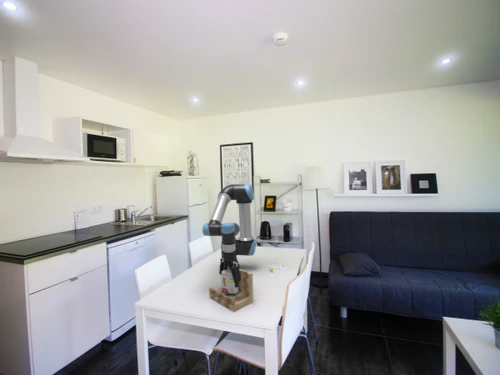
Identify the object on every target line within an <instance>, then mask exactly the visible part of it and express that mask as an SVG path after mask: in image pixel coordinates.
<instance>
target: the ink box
mask: <svg viewBox="0 0 500 375" xmlns="http://www.w3.org/2000/svg"><path fill="white" fill-rule="evenodd" d="M221 272H222V273H221V274H220V276H221V275H222V276H221V288H222V293H232V294H234V293H233V281H234V279H233V276H232V273H231V270H229V269H226V270H223V271H221ZM235 294H236V293H235Z"/></svg>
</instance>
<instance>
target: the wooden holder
mask: <svg viewBox="0 0 500 375" xmlns="http://www.w3.org/2000/svg"><path fill="white" fill-rule="evenodd" d="M232 268H233V267H232ZM228 269H229V268H228ZM229 270H230V269H229ZM239 272H240V277H241V281H238V292H237V293H236V294H232V293H222V287H220V288H217V289H214V288H212V287H210V288H208V291H209V293H208V294H209V298H210V299H211V300H213V301H215V302H216V303H218V304H220V305H222V306H223V307H225V308H226V309H228V310H230V311H231V312H236V311H237V310H240V309H242V308H244V307H246V306H248V305H250V304H252V303H253V302H254V284H253V283H254V282H253V281H254V280H253V278H254V276H253V273H252V272H250V271H247V270H244V269H241V268H239Z"/></svg>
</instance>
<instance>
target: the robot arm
mask: <svg viewBox="0 0 500 375" xmlns="http://www.w3.org/2000/svg"><path fill="white" fill-rule="evenodd" d="M254 200H255V192H254V188H253V186H252V184H250V183H240V184H236V183H235V184H228V185H226V186H224V187H223V188H222V189H221V190H220V191H219V193H218V195H217V201H216V203H215V207H214V209H213V212H212V214H211V217H210V219H209V222H208V223H207V222H206V223H204V224H203V225H202V235H203V236H206V237H221V242H220V250H221V253H220V254H221V258H220V262H219V269H218V270H219V271H218V273H219V275H220V276H221V277H222V275H221V273H222V271H223V270H226V269H228V268H229V269H230V270H231V273H232V276H233V279H234V281H233V293H234V294H235V293H237V292H238V281H241V277H240V272H239V269H240V263H239V260H238V258H237V256H243V257H244V256H247V257H249V256H250V257H251V256H255V253H256V248H257V240H256V239H254V236H253V234H252V214H251V204H252V203H253V201H254ZM231 201H236V202H235V203H236V204H237V205H238V218H239V221H238V222H239V223H237V222H224V223H222V222H223V219H224V216H225V213H226V211H227V208H228V205H229V204H230V202H231ZM238 234H239V236H238ZM236 236H238V238H237V237H236ZM232 267H233V268H232Z"/></svg>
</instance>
